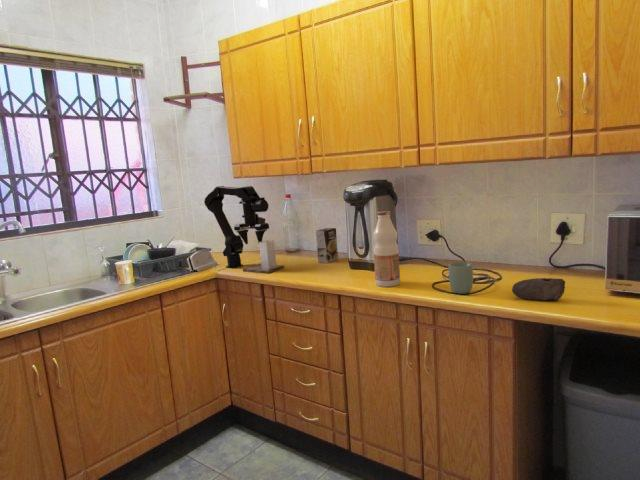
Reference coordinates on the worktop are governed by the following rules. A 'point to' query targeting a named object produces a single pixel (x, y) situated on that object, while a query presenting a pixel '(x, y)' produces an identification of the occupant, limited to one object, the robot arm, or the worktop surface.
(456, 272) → the cup
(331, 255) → the coffee box
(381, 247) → the fruit juice
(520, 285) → the perforated stone tool
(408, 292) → the worktop surface
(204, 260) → the grey metal block
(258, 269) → the plate
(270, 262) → the aluminium block
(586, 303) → the worktop surface
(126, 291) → the worktop surface
